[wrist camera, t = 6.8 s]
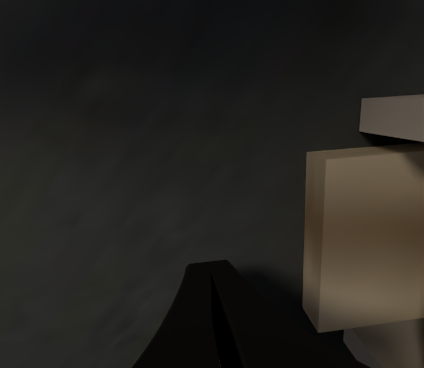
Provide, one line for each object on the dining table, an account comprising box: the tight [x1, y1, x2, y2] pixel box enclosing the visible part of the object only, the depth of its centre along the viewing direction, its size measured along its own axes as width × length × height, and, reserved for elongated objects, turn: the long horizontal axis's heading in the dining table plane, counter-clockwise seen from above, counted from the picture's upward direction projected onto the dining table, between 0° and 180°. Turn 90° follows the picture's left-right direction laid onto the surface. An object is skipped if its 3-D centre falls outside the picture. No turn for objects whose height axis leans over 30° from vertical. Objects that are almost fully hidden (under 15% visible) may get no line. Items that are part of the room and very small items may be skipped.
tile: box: [302, 142, 424, 333], centre depth 12 cm, size 7×8×2 cm
